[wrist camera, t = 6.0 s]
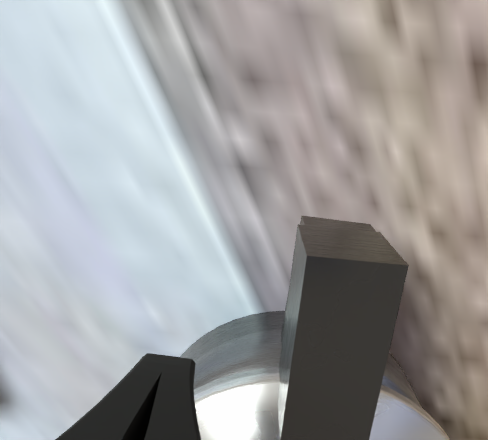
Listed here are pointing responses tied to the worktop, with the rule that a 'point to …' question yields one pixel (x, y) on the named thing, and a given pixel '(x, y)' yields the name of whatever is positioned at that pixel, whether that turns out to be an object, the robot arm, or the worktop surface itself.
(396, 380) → the cooker pot
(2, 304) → the worktop surface
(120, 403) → the robot arm
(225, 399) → the lid
